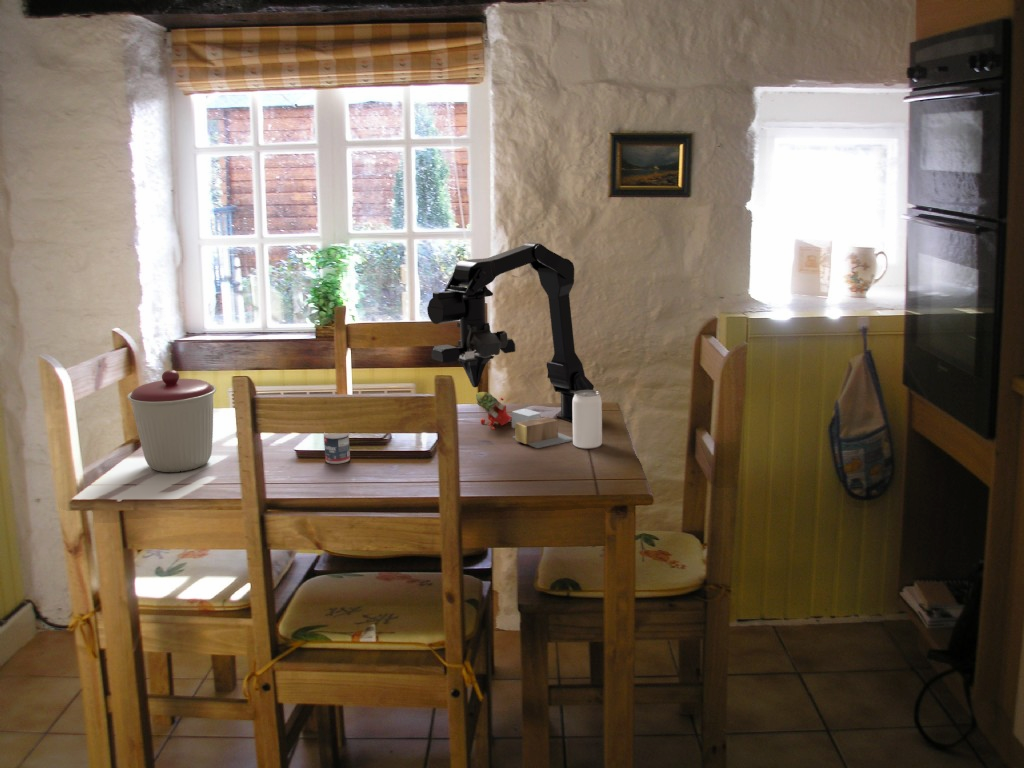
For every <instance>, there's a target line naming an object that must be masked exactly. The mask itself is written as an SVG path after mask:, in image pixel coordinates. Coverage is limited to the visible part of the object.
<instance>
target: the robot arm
mask: <svg viewBox="0 0 1024 768" xmlns="http://www.w3.org/2000/svg"><path fill="white" fill-rule="evenodd" d="M526 265H529V267H530V268H531V269H533V270H534V271H536V273H537V274H538V279H539V282H540V285H541V287H542V289H543V290H544V292H545V294H546V295H547V298H548V306H549V315H550V316H549V317H550V323H551V324H550V325H551V333H552V344H553V353H554V354H553V357H552V359H551V361H547V362H546V369H547V378H548V379H549V381H550V384H551V385H552V387H553V390H554V392H555V393H560V413H558V414H559V415H558V417H557V418H559V419H562V420H565V421H568V422H572V423H573V416H572V400H573V397H574V395H575V394H574V392H576V391H580V390H594V387H595V386H594V385H595V384H593V383H592V382H591V381H590V380H589V379H588V377H586V374H585V370H584V365H583V363H582V361H581V359H580V357H579V356H578V354H577V352H576V350H575V338H574V329H573V320H572V319H573V318H572V311H571V310H572V309H571V299H570V293H571V291H572V288H573V286H574V285H575V266H574V263H573V262H572V261H571V260H570V259H569V258H564V257H563V256H561V255H560V254H557V253H556V252H554V251H552V250H550V249H548V248H547V247H546V246H545V245H543V244H542V243H540V242H539V243H537V242H526V243H524V244H522V245H519V246H517V247H514V248H512V249H509V250H507V251H503V252H500V253H497V254H494V255H491V256H490V257H489V256H488V257H486V258H485V257H484V258H472V259H463V260H460V261H458V262H457V263H456V264H455V268H454V270H453V273H452V275H451V277H450V279H449V280H448V283H447V284H446V286H445V288H444V291H434V292H432V298H430V300H429V302H428V305H427V307H426V309H427V315H428V316H427V317H428V318H429V320H430V322H431V323H433V324H435V325H438V324H445V323H452V322H453V323H454V322H456V326H457V327H458V328H460V331H459V333H460V334H459V335H460V339H459V340H457V345H458V347H457V346H454V345H450V344H447V343H446V344H441V345H436V346H433V347H432V349H431V359H432V360H435V361H438V362H441V363H451V362H459V364H461V366H462V368H463V370H464V371H465V374H466V375H467V378H468V380H469V382H470V384H471V386H472V387H473V388H478V387H479V384H480V382H481V378H482V375H483V373H484V369H485V367H486V365H487V363H489V361H490V360H492V359H495V356H498V355H500V352H502V353H504V354H509V353H515V352H516V343H515V341H514V339H513V338H510V337H509V338H508V333H507V332H506V331H505V330H500V331H496V332H491V325H490V323H489V322H487V319H486V318H487V317H486V298H487V297H493V295H494V292H493V291H491V290H490V289H488V287H487V286H489V284H492V283H493V282H494V281H495V278H497V277H498V276H500V275H502V274H505V273H508V272H510V271H513V270H516V269H518V268H521V267H523V266H526Z"/></svg>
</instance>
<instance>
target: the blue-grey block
mask: <svg viewBox="0 0 1024 768" xmlns="http://www.w3.org/2000/svg"><path fill="white" fill-rule="evenodd" d="M511 417H512V419H511V428H513V429H515V423H518V422H523V421H528V420H533V419H538V418H542V412H538V411H535V410H531V409H529V408H528V409H527V408H520V409H516V410H513V411H511Z"/></svg>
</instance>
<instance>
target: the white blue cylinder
mask: <svg viewBox="0 0 1024 768" xmlns="http://www.w3.org/2000/svg"><path fill="white" fill-rule="evenodd" d="M349 436H350V433H348V434H324V433H323V443H324V456H325V457H324V458H325V463H327V464H332V465H337V464H338V465H341V464H345V463H349V461H351V460H350V459H351V454H350V453H351V450H350V437H349Z"/></svg>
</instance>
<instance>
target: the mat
mask: <svg viewBox="0 0 1024 768" xmlns="http://www.w3.org/2000/svg"><path fill="white" fill-rule="evenodd" d="M512 439H513V440H515V435H513V436H512ZM569 442H573V437H571V436H569V435H566V434H563V433H560V432H558V437H557V438H552V439H547V440H542V441H538V442H533V443H528V444H527V445H528V446H529V447H534V448H535V449H540V448H545V447H550V446H555V445H559V444H563V443H569Z"/></svg>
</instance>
